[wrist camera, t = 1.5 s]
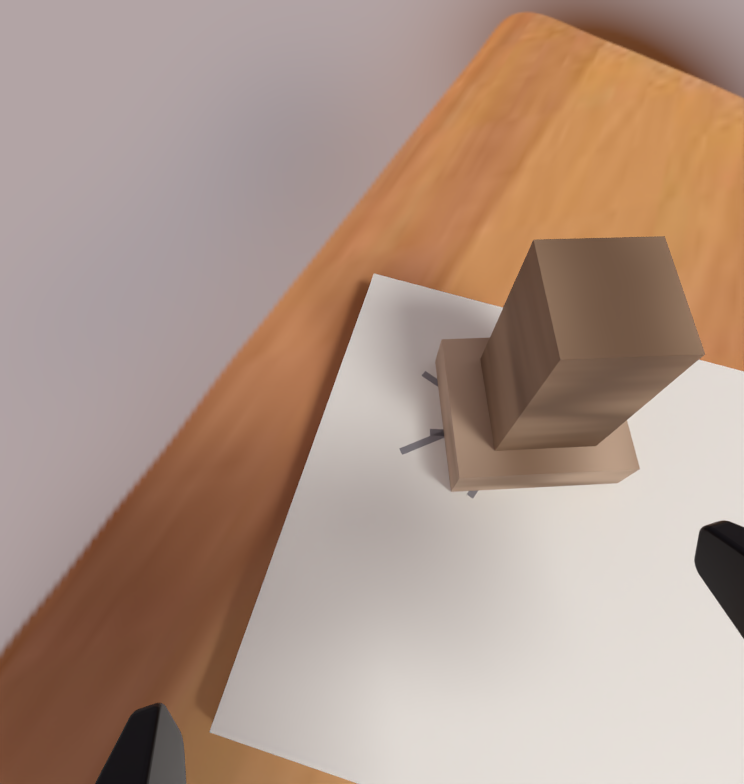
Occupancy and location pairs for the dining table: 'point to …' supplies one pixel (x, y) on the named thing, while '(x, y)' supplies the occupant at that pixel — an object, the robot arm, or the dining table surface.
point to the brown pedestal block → (566, 366)
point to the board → (493, 590)
